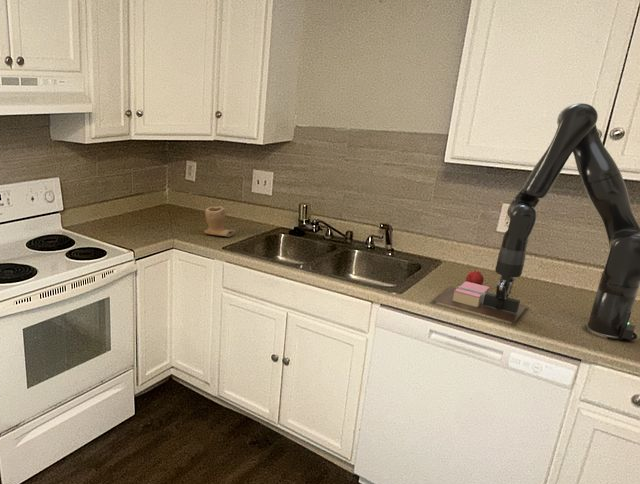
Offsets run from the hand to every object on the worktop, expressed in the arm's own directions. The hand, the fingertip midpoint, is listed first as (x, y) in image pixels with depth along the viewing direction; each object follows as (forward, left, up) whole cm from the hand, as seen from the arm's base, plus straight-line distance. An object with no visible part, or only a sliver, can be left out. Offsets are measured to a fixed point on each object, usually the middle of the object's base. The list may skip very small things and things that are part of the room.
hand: (500, 307), depth 180 cm
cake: (+10, -5, -1) cm, 11 cm away
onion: (+13, -18, -2) cm, 22 cm away
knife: (+4, 0, 0) cm, 4 cm away
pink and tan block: (+10, +2, -1) cm, 10 cm away
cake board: (+6, -1, -2) cm, 7 cm away
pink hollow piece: (+128, -4, -2) cm, 128 cm away
